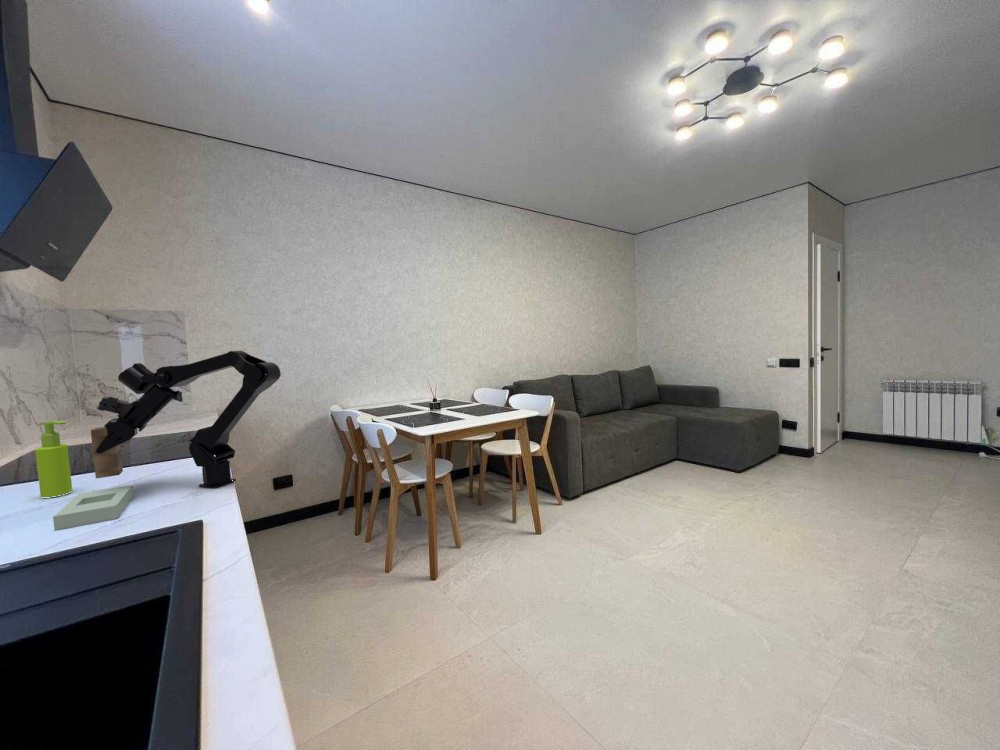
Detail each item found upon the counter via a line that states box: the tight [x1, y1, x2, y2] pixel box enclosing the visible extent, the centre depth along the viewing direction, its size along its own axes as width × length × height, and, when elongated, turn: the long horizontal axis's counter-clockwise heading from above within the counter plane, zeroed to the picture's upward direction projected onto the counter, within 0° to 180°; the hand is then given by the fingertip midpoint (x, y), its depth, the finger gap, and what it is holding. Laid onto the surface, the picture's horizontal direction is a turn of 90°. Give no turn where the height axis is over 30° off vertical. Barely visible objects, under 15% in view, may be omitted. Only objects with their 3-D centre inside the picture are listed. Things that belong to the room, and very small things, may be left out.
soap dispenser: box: [35, 420, 73, 498], centre depth 112 cm, size 6×7×20 cm
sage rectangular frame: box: [52, 484, 134, 531], centre depth 99 cm, size 18×10×3 cm, turn 32°
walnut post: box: [90, 426, 124, 479], centre depth 110 cm, size 4×4×12 cm
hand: (99, 450), depth 109 cm, fingers closed on walnut post, 4 cm apart
